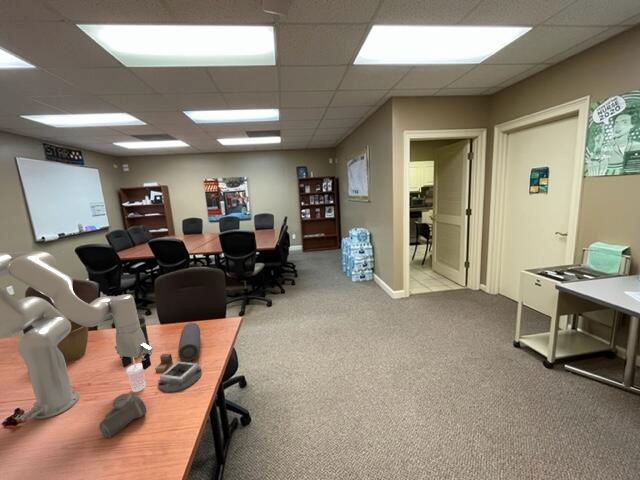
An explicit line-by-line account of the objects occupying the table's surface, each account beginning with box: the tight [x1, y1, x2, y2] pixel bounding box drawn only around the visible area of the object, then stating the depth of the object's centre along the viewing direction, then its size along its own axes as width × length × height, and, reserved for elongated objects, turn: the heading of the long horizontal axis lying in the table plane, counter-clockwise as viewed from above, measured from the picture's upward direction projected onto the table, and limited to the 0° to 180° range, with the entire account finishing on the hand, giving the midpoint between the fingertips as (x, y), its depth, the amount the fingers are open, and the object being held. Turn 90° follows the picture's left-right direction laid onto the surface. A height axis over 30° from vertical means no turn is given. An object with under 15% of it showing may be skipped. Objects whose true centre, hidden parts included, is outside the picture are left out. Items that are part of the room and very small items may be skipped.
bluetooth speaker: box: [177, 322, 202, 362], centre depth 136 cm, size 23×9×10 cm, turn 22°
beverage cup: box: [125, 357, 147, 393], centre depth 110 cm, size 6×6×14 cm
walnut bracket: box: [154, 353, 174, 373], centre depth 123 cm, size 6×4×5 cm, turn 176°
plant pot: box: [57, 320, 89, 362], centre depth 135 cm, size 15×15×16 cm
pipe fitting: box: [98, 392, 148, 438], centre depth 93 cm, size 12×8×10 cm
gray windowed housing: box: [157, 360, 202, 393], centre depth 115 cm, size 16×16×4 cm
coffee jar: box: [137, 313, 151, 355], centre depth 137 cm, size 10×8×19 cm
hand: (137, 366), depth 110 cm, fingers open, 9 cm apart
